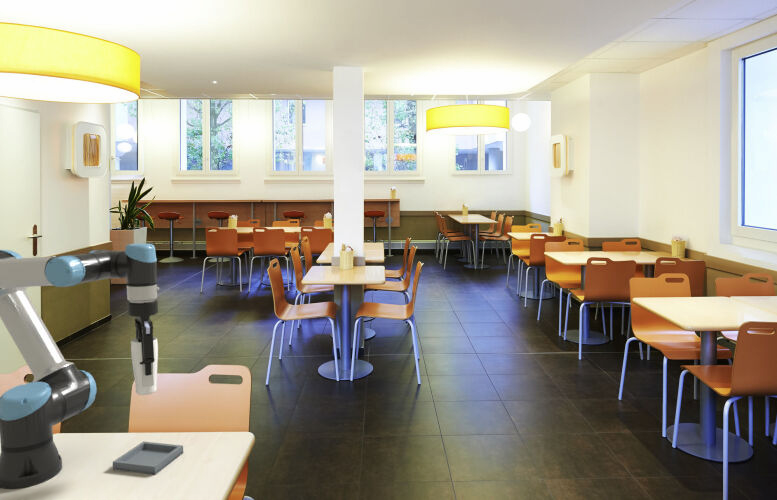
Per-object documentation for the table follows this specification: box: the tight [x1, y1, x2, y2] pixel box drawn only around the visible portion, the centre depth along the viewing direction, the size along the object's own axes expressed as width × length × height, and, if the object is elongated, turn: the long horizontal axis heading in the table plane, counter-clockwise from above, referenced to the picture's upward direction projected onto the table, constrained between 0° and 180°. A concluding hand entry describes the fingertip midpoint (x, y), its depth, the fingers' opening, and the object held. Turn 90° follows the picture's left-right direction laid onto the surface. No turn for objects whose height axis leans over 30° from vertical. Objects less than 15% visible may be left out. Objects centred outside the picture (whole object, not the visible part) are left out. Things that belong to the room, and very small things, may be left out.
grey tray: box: [112, 441, 184, 475], centre depth 154 cm, size 13×13×2 cm
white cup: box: [130, 336, 159, 396], centre depth 152 cm, size 7×7×15 cm
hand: (146, 382), depth 152 cm, fingers closed on white cup, 6 cm apart
